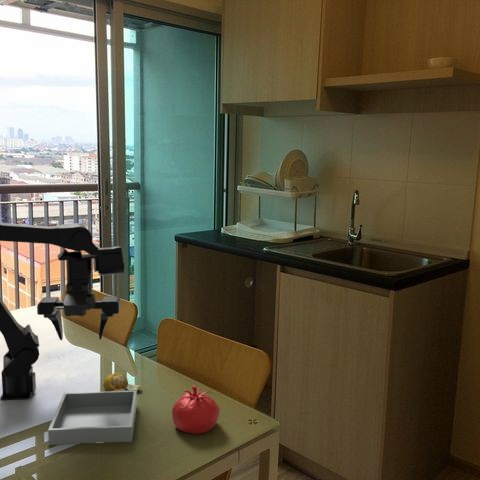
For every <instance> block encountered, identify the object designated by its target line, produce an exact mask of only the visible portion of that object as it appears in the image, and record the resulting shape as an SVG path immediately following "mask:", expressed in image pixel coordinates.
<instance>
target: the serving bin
mask: <svg viewBox="0 0 480 480" xmlns="http://www.w3.org/2000/svg"><path fill="white" fill-rule="evenodd" d="M137 392H138V390H125V391H82V392H81V391H79V392H77V391H75V392H63V394H62V397H61V399H60V401H59V404H58V406H57V409H56V410H55V413H54V416H53V417H52V421H51V422H50V425H49V427H48V430H47V431H48V433H47V434H48V435H47V436H48V437H47V438H48V446H60V445H61V446H62V444H68V445H81V444H80V443H96V442H110V443H109V444H112V443H111V442H128V443H133V439H132V438H133V437H134V431H135V424H134V423H135V422H136V415H137V406H138V393H137ZM78 443H79V444H78Z"/></svg>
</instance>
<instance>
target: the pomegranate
mask: <svg viewBox="0 0 480 480" xmlns="http://www.w3.org/2000/svg"><path fill="white" fill-rule="evenodd" d="M191 389H192V390H193V392H192V391H190V390H186V389H183V390H182V391H183V392H185V393H184V394H183V395H181V396H180V397H179V398H178V399H177V401H175V402H174V405H173V407H172V412H171V416H172V422H173V425H174V426H175V427H176V429H178V430H179V431H182V432H183V433H187V434H188V433H189V434H193V435H200V434H204V433H206V432H209V431H210V430H211V429H213V428H214V427H215V426H216V425H217V422H218V420H219V418H220V410H221V409H220V406H219V405H218V404H217V403H216V401H215V400H214V399H213V398H212V397H210V396H209V395H207V394H206V393H211V394H212V393H213V391H204V392H199V391H200V390H201V388H200V387H198V386H196V385H195V384H194V385H192V386H191Z"/></svg>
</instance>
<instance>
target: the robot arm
mask: <svg viewBox="0 0 480 480" xmlns="http://www.w3.org/2000/svg"><path fill="white" fill-rule="evenodd" d="M0 242H12V243H13V242H15V243H30V244H47V245H53V246H55V247H59V248H62V251H61V252H60V253H58V254H57V259H58V261H65V262H66V264H65V265H66V266H65V267H66V292H65V294H64V299H63V300H62V301H60V299H59V297H58V296H48V297H47V296H44V297H43V298H42V299H41V300H40V301H39V302H38V303H37V307H36V311H37V312H36V313H37V315H39V316H43V318H45V319H48V320H49V321H51V323H52V325H53V327H54V328H55V331H56V334H57V336H58V340H60V341H63V339H64V338H63V337H64V330H63V319H62V310H63V313H64V316H65V317H73V316H74V317H75V316H78V317H83V316H85V315H86V314H87V311H90V310H98V309H99V310H101V314H100V324H99V332H98V337H99V338H98V339H99V340H102V338H103V335H104V330H105V328H106V325H107V322H108V320H109V318H111V317H112V318H113V317H114V315H115V314H119V313H120V310H121V307H122V305H121V303H122V302H121V297H119V296H103V299H102V300H96V295H95V293H93V282H92V281H93V276H92V275H93V273H92V269H93V271H94V273H96V272H97V273H98V276H101V277H102V276H112V275H113V276H114V275H116V276H117V275H124V272H125V261H124V257H123V251H122V250H123V249H122V247H121V245H120V246H117V245H116V246H111V247H99V245H97V244H96V243H95V242H93V235H92V233H91V231H90V230H89V229H88V228H87V227H86V226H85V225H84V224H82V223H77V222H74V223H65V224H64V223H63V224H57V225H51V226H48V225H37V224H35V225H33V224H22V223H21V224H20V223H19V224H18V223H5V222H0ZM69 250H71V251H69ZM82 251H84V252H85V253H82ZM92 259H93V260H92ZM92 266H93V268H92ZM0 334H1V335H2V336H3V339H4V342H5V344H6V347H7V349H8V351H7V352H6V353H5V354H4V355H3V357H2V359H3V361H2V362H3V363H2V365H3V366H2V367H3V368H2V370H1V387H2V394H1V395H0V401H4V400H5V401H7V400H28V399H30V398H31V397H32V395H33V394H34V393H35V390H36V388H37V382H36V372H34V367H33V365H35V363H37V362H38V360H39V356H40V349H39V347H40V343H39V342H40V341H39V337H38V336H39V335H37V334H35V333H34V332H33V329H32V327H31V325H30V324H28V323H27V325H26V326H22V325H21V324H20V323H19V322H18V321H17V320H16V318H15V317H14V315H13V314H12V313H11V311H10V310H9V309H8V307H7V305H6V304H5V302H4V300H2V298H1V297H0Z"/></svg>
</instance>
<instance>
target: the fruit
mask: <svg viewBox="0 0 480 480" xmlns="http://www.w3.org/2000/svg"><path fill="white" fill-rule="evenodd" d="M102 386H103V389H104V390H105V391H126V390H131V391H135V390H137V391H139V390H140V389H141V388H142V385H140V384H138V385H136V384H130V383H129V381H128V378H127V377H126V376H125V375H124V374H123V373H122V372H116V373H115V372H114V373H112V374H109V375H107V376H106V377H105V379H104V380H103V384H102Z"/></svg>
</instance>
